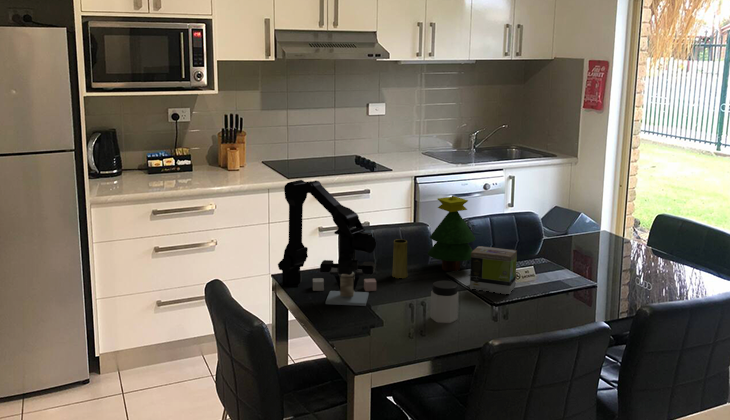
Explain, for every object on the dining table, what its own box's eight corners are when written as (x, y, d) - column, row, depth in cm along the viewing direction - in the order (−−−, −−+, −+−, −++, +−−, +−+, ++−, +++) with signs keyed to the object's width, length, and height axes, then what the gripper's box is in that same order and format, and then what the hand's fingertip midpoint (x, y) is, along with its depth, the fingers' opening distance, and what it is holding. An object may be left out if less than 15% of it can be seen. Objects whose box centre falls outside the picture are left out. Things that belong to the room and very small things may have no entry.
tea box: (515, 287, 276) (517, 249, 272) (508, 296, 267) (511, 256, 263) (476, 281, 282) (478, 244, 278) (468, 289, 273) (470, 251, 269)
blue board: (325, 304, 257) (325, 301, 257) (330, 293, 268) (330, 290, 268) (365, 305, 256) (365, 303, 256) (368, 294, 266) (368, 292, 266)
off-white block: (312, 291, 270) (312, 282, 270) (312, 287, 274) (312, 278, 274) (323, 290, 271) (323, 281, 270) (323, 287, 275) (323, 278, 274)
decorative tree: (446, 279, 284) (448, 203, 277) (417, 265, 300) (419, 193, 293) (485, 271, 294) (488, 198, 287) (455, 259, 310) (458, 189, 303)
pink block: (365, 291, 270) (365, 282, 270) (363, 287, 274) (363, 278, 273) (376, 291, 271) (376, 282, 270) (374, 287, 275) (374, 278, 274)
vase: (406, 279, 284) (407, 243, 280) (390, 278, 285) (391, 242, 282) (408, 274, 290) (409, 239, 286) (393, 273, 291) (393, 238, 287)
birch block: (340, 296, 259) (340, 277, 258) (342, 291, 264) (342, 273, 262) (353, 296, 259) (353, 277, 257) (354, 292, 263) (354, 273, 262)
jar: (441, 311, 251) (442, 278, 248) (461, 317, 246) (462, 283, 243) (425, 319, 244) (426, 285, 241) (446, 325, 239) (447, 290, 236)
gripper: (317, 253, 250) (317, 296, 254) (372, 255, 249) (371, 299, 252) (322, 244, 261) (322, 286, 265) (375, 246, 259) (374, 288, 263)
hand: (347, 290), depth 261 cm, fingers closed on birch block, 4 cm apart
